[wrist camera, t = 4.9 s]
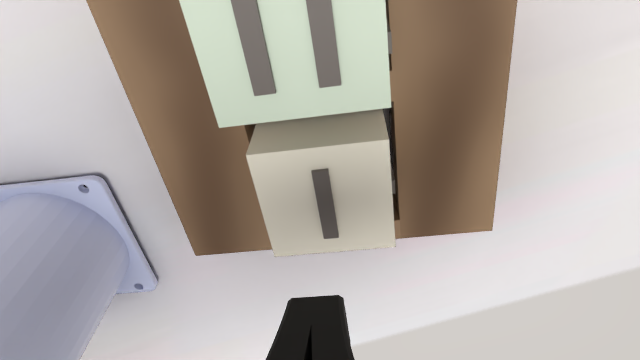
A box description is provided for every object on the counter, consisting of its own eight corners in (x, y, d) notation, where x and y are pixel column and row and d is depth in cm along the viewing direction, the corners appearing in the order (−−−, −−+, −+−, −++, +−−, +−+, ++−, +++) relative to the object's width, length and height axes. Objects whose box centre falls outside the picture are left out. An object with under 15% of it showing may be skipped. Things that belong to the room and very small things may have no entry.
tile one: (283, 205, 21) (274, 259, 18) (260, 111, 18) (244, 157, 15) (390, 194, 20) (400, 249, 17) (384, 96, 17) (394, 141, 14)
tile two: (240, 82, 15) (217, 130, 12) (198, -79, 13) (155, -67, 10) (385, 63, 15) (397, 109, 12) (375, -109, 12) (387, -107, 9)
